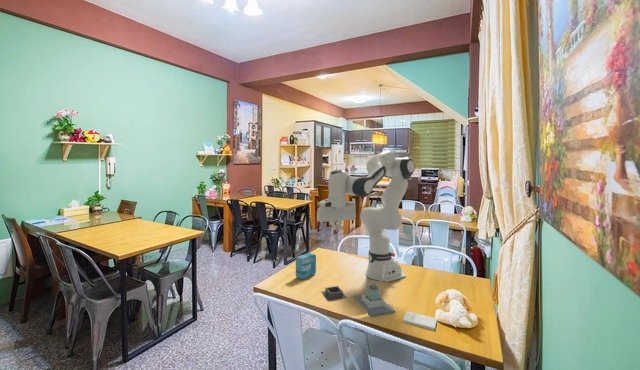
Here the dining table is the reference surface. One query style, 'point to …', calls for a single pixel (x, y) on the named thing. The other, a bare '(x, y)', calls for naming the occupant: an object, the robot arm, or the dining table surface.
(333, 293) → the dark grey square box
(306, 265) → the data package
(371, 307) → the dock
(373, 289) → the plug
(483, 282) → the dining table surface
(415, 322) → the external hard drive
